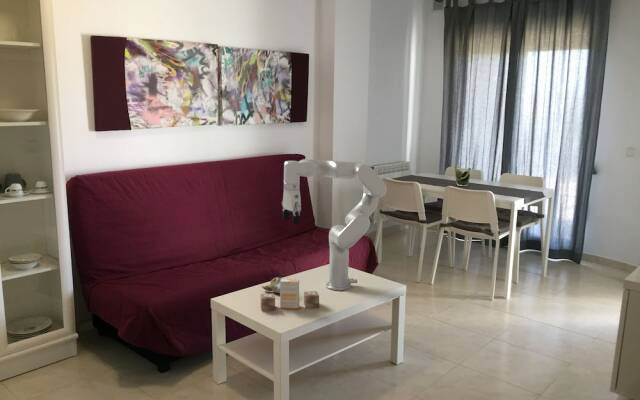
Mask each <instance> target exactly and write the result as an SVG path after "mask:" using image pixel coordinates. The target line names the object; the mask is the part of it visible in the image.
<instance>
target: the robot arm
mask: <svg viewBox="0 0 640 400" xmlns="http://www.w3.org/2000/svg"><path fill="white" fill-rule="evenodd" d="M315 176H322V177H326V178H330V179H339V180H356V181H357V180H358V181H359V182H360V183H361V184H362V192H363V193H362V194H363V195H362V198H361V199H360V201H359V202H358V203H357V204H356V205H355V206H354V207H353V208H352V209H351V210H350V211H349V212H348V214H346V216H345V219H344V220H345V221H344V222H345V224H346V226H344V225H341V224H336V225H334V226H332V227H331V228H330V229H329V232H328V245H329V267H328V268H329V269H328V270H329V271H328V273H329V274H328V282H326V284H325V287H326V288H327V289H328V290H332V291H346V290H350V289H351V288H352V284H357V283H358V279H357V278H349V259H350V258H349V256H350V254H349V250H350V248H352V247H353V246H355V244H356V243H358V241H359V240H360V239H362V237H363V236H364V235H365V234H366V232H367V231H369V228H370V227H371V226H370V225H371V221H370V216H371V215H373V213H374V212H375V211H376V209H377V207H378V204H379V199H380V198H383V197H384V196H385V195H386V194H387V189H388V188H387V185H386V183H385V182H384V181H383V180H382V179H381V177H380V176H379V175H378V174H377V173H376V172H375V171H374V169H373V168H372V167H371V166H370V165H368V164H366V163H364V162H360V161H359V162H358V161H357V162H356V161H343V160H342V161H341V160H340V161H339V160H322V159H308V158H305V159H301V160H299V161H297V160H286V161H284V163H283V194H282V195H283V196H282V201H281V208H282V220H283V221H289V220H290V212H292V224H293V225H299V224H300V215H301V211H302V207H301V206H302V202H301V201H302V200H301V198H302V197H301V190H300V184H301V183H300V179H301V178H300V177H304V178H305V177H306V178H311V177H315Z"/></svg>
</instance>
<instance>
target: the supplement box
mask: <svg viewBox="0 0 640 400" xmlns="http://www.w3.org/2000/svg"><path fill="white" fill-rule="evenodd" d="M279 297H280V309H284V310H285V309H287V310H288V309H290V310H298V309H299V307H300V278H288V277H287V278H286V277H284V278H283V277H282V279H281V281H280V293H279Z"/></svg>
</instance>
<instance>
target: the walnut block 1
mask: <svg viewBox="0 0 640 400" xmlns="http://www.w3.org/2000/svg"><path fill="white" fill-rule="evenodd" d="M274 293H275V292H273V293H260V310H261V312H271V311H273V312H274V311H276V297H275V294H274Z"/></svg>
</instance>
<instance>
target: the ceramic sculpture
mask: <svg viewBox="0 0 640 400" xmlns="http://www.w3.org/2000/svg"><path fill="white" fill-rule="evenodd" d="M282 278H283V277H282V276H281V275H279V276H277V277H273V279H271V280H270V284H267V285H265V286H262V285H261V288H262V289H263V290H265V291H267V292H273V293H277V294H280V281H281V279H282Z"/></svg>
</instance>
